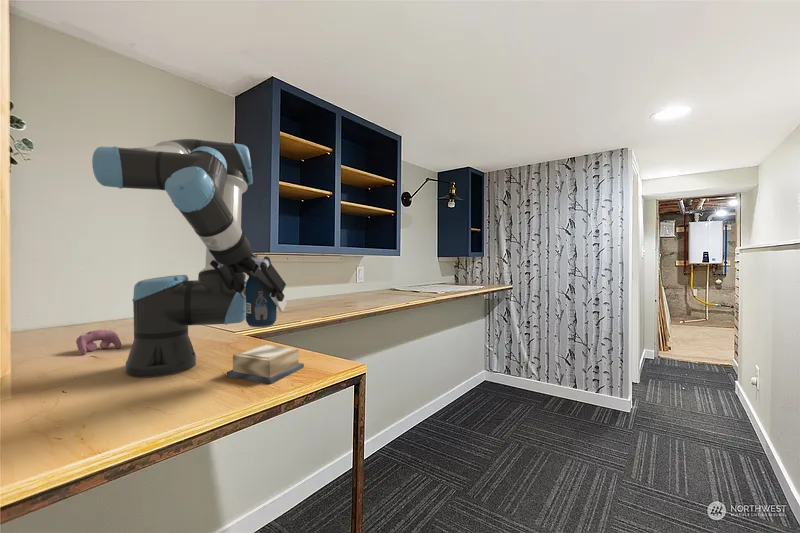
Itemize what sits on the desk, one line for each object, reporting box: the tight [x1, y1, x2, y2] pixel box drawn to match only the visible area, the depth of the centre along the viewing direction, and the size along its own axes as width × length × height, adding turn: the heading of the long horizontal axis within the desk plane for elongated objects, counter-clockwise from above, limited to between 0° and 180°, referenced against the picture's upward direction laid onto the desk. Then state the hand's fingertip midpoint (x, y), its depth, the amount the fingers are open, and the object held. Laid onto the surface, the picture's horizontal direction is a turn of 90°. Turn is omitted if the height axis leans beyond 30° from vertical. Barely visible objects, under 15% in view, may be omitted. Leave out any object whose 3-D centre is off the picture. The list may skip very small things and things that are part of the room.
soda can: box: [245, 276, 278, 328], centre depth 90 cm, size 7×7×12 cm
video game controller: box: [75, 329, 122, 356], centre depth 109 cm, size 10×5×7 cm, turn 146°
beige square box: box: [226, 343, 305, 385], centre depth 94 cm, size 13×13×5 cm
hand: (269, 306), depth 94 cm, fingers closed on soda can, 7 cm apart
